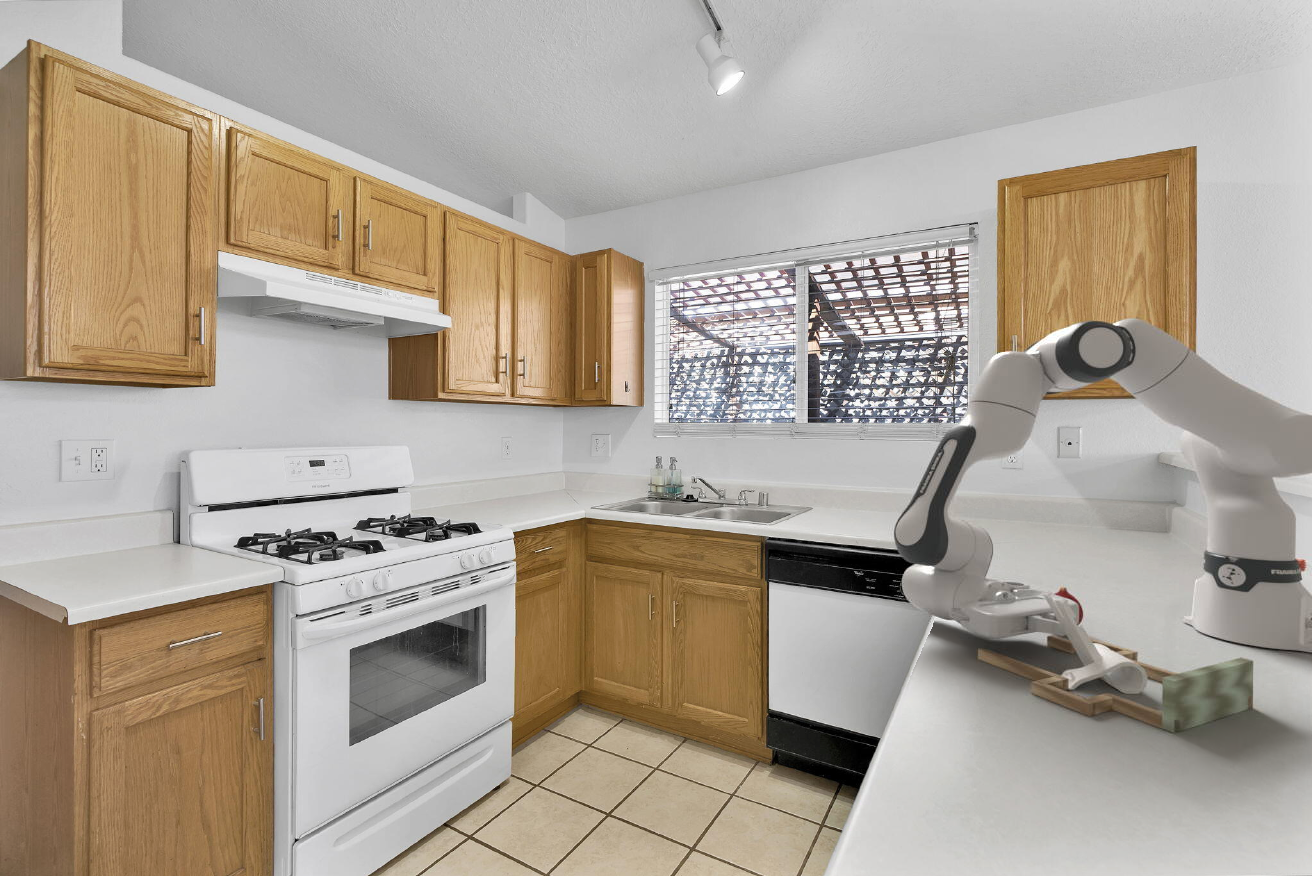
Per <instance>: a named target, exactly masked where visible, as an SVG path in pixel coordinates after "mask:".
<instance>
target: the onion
mask: <svg viewBox="0 0 1312 876" xmlns="http://www.w3.org/2000/svg"><path fill="white" fill-rule="evenodd" d="M1053 594H1054V595H1057V596H1061V597H1064V598H1067V599H1070V600H1072V601H1074V602H1076V603H1077V604H1078V605H1079V623H1078V624H1077V626H1078V627H1079V626H1080V624H1081V623H1082V621H1083V619H1084V610H1083V606H1082V604H1081V603H1080V601H1079V600H1078V599H1077V598H1076V597H1075V596H1073V594H1070V593H1069V592H1068V590H1067V587H1065V586H1061V587H1059V590H1058V591H1057V592H1055V593H1053Z"/></svg>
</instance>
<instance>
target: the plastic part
mask: <svg viewBox="0 0 1312 876" xmlns="http://www.w3.org/2000/svg"><path fill="white" fill-rule="evenodd" d="M1046 592H1047V593H1045V594H1043V595H1044V597H1045V599H1046V600H1047V602H1048V604H1049V606H1050V607H1051V609H1052V611H1053V612H1054V614H1055V616H1056V618H1057V619H1058V621H1059V623H1060V625H1061V626H1062V628H1063V630H1064V631H1065V633H1066V635H1065V636H1066V637H1067V639H1068V641H1070V642H1071V644H1072V645H1073V647H1074V649H1075V651H1076V652H1077V653H1076V654H1077V656H1078V658H1079V660H1080V662H1081V663H1082V665H1083V666H1082V667H1078V668H1072V669H1066V670H1065V671H1063V672H1062V674H1061V675H1060V676H1063V677H1065V678H1068V679H1069V688H1068V691H1073V690H1075V689H1077V688H1078V687H1079V686H1081V685H1082V684H1084V683H1087V682H1090V681H1093V680H1096V679H1100V680H1102V681H1103V682H1105V683H1107V684H1108V685H1110V686H1111V687H1114V688H1115V689H1116V690H1118V691H1119V692H1121V693H1123V694H1128V695H1138V694H1141V693H1142V692H1143V691H1144V690H1145V688H1146V687H1147V684H1148V678H1147V674H1146V672H1145V670H1144V669H1143V668H1142V667H1141V666H1140V665H1139V664H1137V663H1135V662H1133V661H1131V660H1129V659H1127V658H1126V657H1124V656H1122V655H1120V654H1118V653H1116V652H1114V651H1112V650H1110V649H1109V648H1107V647H1106V646H1104V645H1102V644H1098V643H1093V642H1092V641H1091V639H1092V638H1091V637H1090V636H1089V635H1088V633H1087V631H1086V630H1085V628H1084V627H1083V625H1082V624H1081V625H1080V624H1079V625H1078V626H1077V624H1076V623H1075V621H1074V619H1073V618H1075V617H1076V615H1075V614H1074V612H1073V610H1072V609H1071V607H1070V606H1069V604H1068V602H1069V601H1068V600H1067V599H1065V598H1064V599H1062V600H1057V599H1056V600H1055V602H1056V603H1055V602H1054V600H1053V599H1052V597H1051V596H1050V594H1053V593H1052V592H1051V591H1046ZM1056 604H1057V605H1056ZM1090 638H1091V639H1090Z"/></svg>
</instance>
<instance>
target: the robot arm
mask: <svg viewBox="0 0 1312 876" xmlns="http://www.w3.org/2000/svg"><path fill="white" fill-rule="evenodd" d="M1108 379H1110V380H1112V381H1114V382H1116V383H1117V384H1119V386H1120V387H1122V388H1123V389H1124V390H1125V391H1127V392H1128V393H1129V394H1130V395H1132V396H1133V398H1135V399H1136V400H1138V401H1139V402H1140V403H1142V405H1144V406H1145V407H1146V408H1148V409H1149V411H1151V412H1153V413H1154V414H1155V415H1157V416H1158V417H1159V418H1160V419H1161V420H1163V421H1164V422H1166V423H1168V424H1169V425H1172V426H1174V427H1177V428H1180V429H1182V430H1183V432H1182V433H1181V436H1180V439H1179V447H1180V451H1181V453H1182V456H1183V458H1185V459H1186V460H1187V462H1188V463H1190V465H1192V467H1193V469H1194V471H1195V473H1196V476H1197V478H1198V482H1199V485H1200V487H1201V490H1202V494H1203V499H1204V502H1205V508H1206V509H1205V510H1206V525H1207V526H1206V530H1207V532H1206V534H1207V538H1206V539H1207V540H1206V541H1207V542H1206V543H1207V544H1206V550H1205V551H1204V553H1203V558H1202V563H1203V571H1204V572H1205V573H1204V574H1203V575H1202V576H1200V577H1199V578H1197V579H1196V580H1195V583H1194V590H1193V599H1192V608H1191V609H1192V610H1191V615H1185V616H1183V621H1182V622H1183V623H1185V624H1187V625H1190V626H1192V627H1193V628H1194V629H1195V630H1196V631H1197V632H1200V633H1202V634H1204V635H1207V636H1210V637H1214V638H1217V639H1221V640H1225V641H1229V642H1233V643H1237V644H1243V645H1247V646H1248V645H1249V646H1254V647H1259V648H1267V649H1276V650H1277V649H1278V650H1287V651H1289V650H1290V651H1299V652H1306V653H1312V594H1311V592H1309V590H1308V589H1307V588H1306V587H1305V586H1304V585H1303V584H1302V582H1301V581H1303V576H1302V572H1304V571H1306V568H1307V562H1306V560H1305V559H1303V558H1299V559H1298V558H1296V548H1297V547H1296V540H1297V539H1296V533H1297V532H1296V531H1297V525H1296V523H1297V522H1296V521H1297V517H1296V514H1295V512H1294V510H1293V509H1292V507H1291V506H1290V505H1289V504H1287V502H1285V500H1283V498H1282V496H1281V495H1280V493H1279V491H1278V489H1277V487H1276V484H1275V481H1274V478H1277V479H1278V478H1291V477H1297V476H1304V475H1309V474H1312V415H1311V414H1308V413H1305V412H1302V411H1299V410H1296V409H1292V408H1290V407H1288V406H1286V405H1284V404H1281V403H1279V402H1277V401H1275V400H1273V399H1271V398H1269V397H1267V396H1265V395H1263V394H1261V393H1259V392H1257V391H1256V390H1253V389H1251V388H1249V387H1247V386H1246V385H1243V384H1241V383H1239V382H1237V381H1235V380H1234V379H1232V378H1230V377H1229V376H1227V375H1225V374H1224V373H1222V372H1221V371H1220V370H1218V369H1217V368H1215V367H1214V366H1213V365H1212V364H1210V363H1209V362H1207V361H1206V360H1205V359H1203V358H1202V357H1201V356H1199V355H1198V353H1196V352H1194V351H1193V350H1192V349H1191V348H1189V347H1188V346H1186V345H1185V344H1184V343H1182V342H1181V341H1180V340H1178V339H1176V338H1175V337H1174V336H1172V335H1171V334H1169V333H1167V332H1165V331H1164V330H1163V329H1161V328H1159V327H1158V326H1155V325H1153V324H1151V323H1149V322H1147V321H1145V320H1142V319H1139V318H1135V317H1133V318H1125V319H1121V320H1119V321H1116V322H1114V323H1109V322H1105V321H1100V320H1086V321H1080V322H1077V323H1073V324H1072V325H1070V326H1066V327H1064V328H1061V329H1057V330H1056V331H1055V330H1054V331H1053V332H1051V333H1050V334H1048V335H1046V337H1044V338H1042V339H1041V340H1038V341H1036V342H1034V343H1033V344H1031V345H1030V346H1028V347H1027V348H1026V349H1024V350H1023V352H1022V351H1018V350H1017V351H1015V350H1008V351H1004V352H999V353H997V354H995V355H993V356H992V357H991V358H990V359H989V360H988V362H987V363H986V365H985V366H984V368H983V370H982V373H980V376H979V378H978V380H977V382H976V383H975V386H974V389H973V392H972V394H971V397H970V400H969V402H968V405H967V409H966V411H965V412H964V415H963V417H962V418H961V419H960V421H959V422H958V424H957V425H954V426H953V427H951V428H950V429H948V430H947V432H946V433H945V434H944V436H943V437H942V438H941V440H940V442H939V444H938V446H937V447H936V448H935V452H934V453H933V456H932V457H931V460H930V462H929V464H928V465H927V468H926V469H925V472H924V473H923V476H922V478H921V481H919V484H918V486H917V487H916V488H917V489H916V491H915V493H914V494H913V496H912V498H911V500H910V502H909V503H908V504H907V506H906V508H905V509H904V510H903V512H902V513H901V514H900V515H899V517H898V518H897V521H896V523H895V525H894V529H893V530H894V531H893V540H894V544H895V546H896V547H895V548H896V549H897V551H898V553H899V555H900V556H901V557H902V559H904V560H905V561H906V562H908V563H911V564H912V565H911V566H909V567H907V568H906V570H905V571H904V573H902V578H901V587H902V592H903V594H904V596H905V598H906V600H907V601H908V602H909V603H910V604H911V605H912V606H914V607H915V608H917V609H918V610H920V611H921V612H923V613H925V614H928V615H931V616H934V617H937V618H939V619H942V620H946V621H955V622H956V623H958V624H960V625H961V627H962V628H964V629H966V630H968V631H971V632H973V633H975V634H978V635H980V636H983V637H986V638H989V639H996V640H997V639H999V640H1000V639H1004V638H1005V639H1006V638H1010V637H1016V636H1022V635H1028V634H1032V633H1044V634H1053V635H1056V636H1060V637H1065V636H1067V635H1066V633H1065V631H1064V630H1063V628H1062V626H1061V625H1060V623H1059V621H1058V619H1057V618H1056V616H1055V614H1054V612H1053V611H1052V609H1051V607H1050V606H1049V604H1048V602H1047V600H1046V599H1045V597H1044V595H1043V594H1045V593H1047V592H1048V591H1043V590H1040V589H1033V588H1032V589H1031V586H1030V585H1029V584H1028V583H1024V582H1014V581H1011V582H1010V581H1000V580H997V579H992V578H986V577H987V574H988V571H989V568H990V566H991V562H992V560H993V556H994V543H993V541H992V537H991V536H990V535H989V533H988V532H987V531H986V529H984V528H983V527H981V526H979V525H975V524H973V523H971V522H969V521H966V520H964V519H963V520H962V519H958V518H956V517H953V516H950V515H949V512H948V511H949V507H950V505H951V504H952V501H953V499H954V497H955V495H956V492H957V491H958V488H959V486H960V485H961V482H962V480H963V478H964V476H965V474H966V472H967V471H968V470H969V469H970V468H972V466H974V465H975V464H976V463H977V464H978V463H979V462H983V461H990V460H991V461H993V460H1000V459H1005V458H1007V457H1010V456H1012V455H1015V454H1017V453H1018V452H1020V450H1022V449H1023V448H1024V446H1026V444H1027V442H1028V440H1029V438H1030V436H1031V434H1032V431H1033V428H1034V426H1035V423H1036V419H1037V416H1038V412H1039V408H1040V405H1041V402H1042V400H1043V398H1044V396H1045V395H1054V394H1060V393H1062V392H1070V391H1071V392H1072V391H1075V390H1080V389H1083V388H1085V387H1087V386H1089V385H1092V384H1094V383H1097V382H1098V383H1099V382H1102V381H1104V380H1108ZM1054 594H1055V593H1052V594H1050V596H1051V597H1052V599H1053V600H1054V602H1055V600H1056V599H1057V600H1062V599H1064V597H1061V596H1057V595H1054ZM1065 599H1067V598H1065ZM1067 600H1068V601H1069V602H1068V604H1069V606H1070V607H1071V609H1072V610H1073V612H1074V614H1075V615H1076V617H1075V618H1073V619H1074V621H1075V623H1076V624H1078V623H1079V605H1078V604H1077V603H1076V602H1074V601H1072V600H1070V599H1067ZM1055 603H1056V602H1055ZM1056 605H1057V604H1056Z"/></svg>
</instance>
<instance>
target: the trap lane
mask: <svg viewBox="0 0 1312 876" xmlns="http://www.w3.org/2000/svg"><path fill="white" fill-rule="evenodd" d="M1089 638H1090V639H1091V641H1092V642H1093V643H1098V644H1102V645H1104V646H1106V647H1107V648H1109V649H1110V650H1112V651H1114V652H1116V653H1118V654H1120V655H1122V656H1124V657H1126V658H1127V659H1129V660H1131V661H1133V662H1135V663H1137V664H1139V665H1140V666H1141V667H1142V668H1143V669H1144V670H1145V672H1146V674H1147V679H1148V678H1149V679H1151V680H1153V681H1157V682H1161V683H1162V688H1161V689H1162V695H1161V696H1162V698H1161V700H1162V701H1161V702H1162V705H1161V706H1162V708H1161V710H1162V711H1161V710H1157V709H1155V708H1151V707H1149V706H1146V705H1143V704H1141V703H1138V702H1136V701H1132V700H1130V699H1126V698H1124V697H1121V696H1118V695H1116V694H1112V693H1109V692H1106V693H1101V694H1099V695H1094V696H1090V697H1084V696H1082V695H1079V694H1077V693H1074V692H1072V691H1070V690H1069V689H1068V688H1069V679H1068V678H1065V677H1063V676H1061V675H1060V674H1056V673H1054V672H1051V671H1049V670H1045V669H1043V668H1040V667H1037V666H1034V665H1031V664H1029V663H1026V662H1022V661H1020V660H1017V659H1014V658H1012V657H1009V656H1006V655H1003V654H1001V653H998V652H995V651H992V650H990V649H987V648H978V649H977V660H980V661H983V662H985V663H987V664H990V665H992V666H995V667H998V668H1000V669H1003V670H1006V671H1009V672H1011V673H1014V674H1016V675H1020V676H1022V677H1024V678H1027V679H1029V680H1032V681H1031V686H1030V687H1031V689H1030V690H1031V694H1033V695H1035V696H1038V697H1041V698H1042V699H1045V700H1047V701H1050V702H1053V703H1055V704H1058V705H1061V706H1062V707H1065V708H1068V709H1071V710H1072V711H1075V712H1077V713H1080V714H1082V715H1084V716H1087V717H1092V716H1095V715H1100V714H1101V713H1102V714H1103V713H1106V712H1110V711H1114V712H1117V713H1120V714H1123V715H1125V716H1128V717H1131V718H1133V719H1136V720H1138V721H1140V722H1144V723H1146V724H1149V725H1152V726H1154V727H1157V728H1159V729H1162V730H1164V731H1168V732H1170V733H1172V734H1177V733H1179V732H1182V731H1185V730H1188V729H1192V728H1194V727H1199V726H1201V725H1203V724H1208V723H1210V722H1214V721H1216V720H1219V719H1222V718H1226V717H1229V716H1232V715H1236V714H1239V713H1241V712H1244V711H1248V710H1251V709H1253V707H1254V660H1252V659H1248V658H1243V657H1239V658H1233V659H1230V660H1227V661H1223V662H1218V663H1214V664H1210V665H1207V666H1204V667H1198V668H1195V669H1191V670H1187V671H1184V672H1174V671H1171V670H1167V669H1165V668H1161V667H1158V666H1154V665H1152V664H1148V663H1144V662H1141V661H1138V651H1136V650H1133V649H1129V648H1126V647H1123V646H1119V645H1115V644H1112V643H1108V642H1105V641H1101V640H1098V639H1095V638H1091V637H1089ZM1046 642H1047V643H1046V646H1048V647H1051V648H1052V649H1053V648H1054V649H1057V650H1060V651H1062V652H1067V653H1068V654H1069V653H1070V654H1077V652H1076V651H1075V649H1074V647H1073V645H1072V644H1071V642H1070V640H1069V639H1065V638H1061V637H1058V636H1054V635H1048V636H1046Z"/></svg>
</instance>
